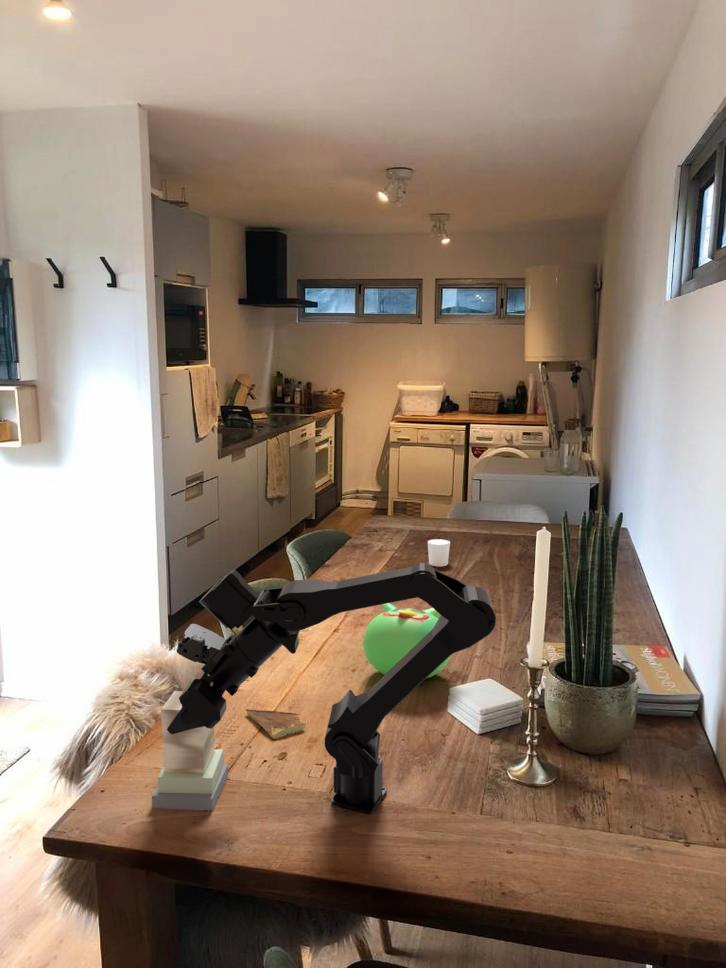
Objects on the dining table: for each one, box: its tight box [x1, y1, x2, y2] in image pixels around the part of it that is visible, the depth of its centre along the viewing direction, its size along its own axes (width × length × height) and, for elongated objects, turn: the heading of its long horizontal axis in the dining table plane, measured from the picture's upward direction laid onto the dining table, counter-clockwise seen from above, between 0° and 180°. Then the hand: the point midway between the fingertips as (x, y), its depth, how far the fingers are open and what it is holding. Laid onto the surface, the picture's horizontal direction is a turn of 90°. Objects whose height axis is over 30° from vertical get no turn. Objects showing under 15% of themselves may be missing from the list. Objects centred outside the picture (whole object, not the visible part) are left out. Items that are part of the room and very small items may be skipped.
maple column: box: [160, 690, 215, 774], centre depth 115 cm, size 6×6×10 cm
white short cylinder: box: [427, 538, 451, 567], centre depth 233 cm, size 7×7×7 cm
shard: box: [245, 708, 307, 740], centre depth 138 cm, size 11×8×2 cm
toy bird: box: [362, 603, 451, 679], centre depth 155 cm, size 18×17×15 cm
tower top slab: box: [157, 748, 225, 794], centre depth 116 cm, size 8×8×2 cm
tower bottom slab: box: [151, 764, 229, 812], centre depth 116 cm, size 9×9×2 cm
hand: (179, 716), depth 114 cm, fingers open, 9 cm apart
